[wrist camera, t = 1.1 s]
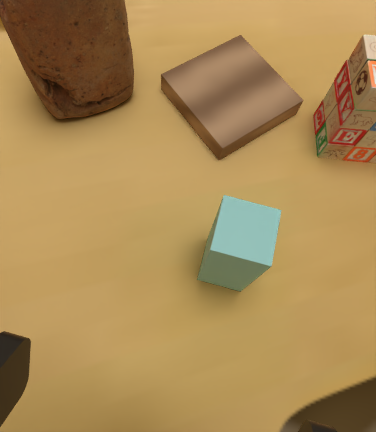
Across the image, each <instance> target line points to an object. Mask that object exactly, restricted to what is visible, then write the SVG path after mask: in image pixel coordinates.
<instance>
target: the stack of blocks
mask: <svg viewBox="0 0 376 432" xmlns="http://www.w3.org/2000/svg"><path fill="white" fill-rule="evenodd" d="M314 126H315V135H316V145H317V157H320V158H331V159H342V160H347V161H359V162H370V163H376V35H363V36H362V38H361V39H360V41H359V43H358V44H357V46H356V48H355V49H354V51H353V52H352V54H351V56H350V58H349V60H346V62H345V63H344V65H343V66H342V68H341V70H340V71H339V73H338V74H337V77H336V78H335V80H334V82H333V84H332V86H331V88H330V89H329V91H328V93H327V94H326V96H325V98H324V99H323V101H322V102H321V104H320V105H319V107H318V109H317V110H316V112H315V113H314Z"/></svg>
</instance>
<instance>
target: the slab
mask: <svg viewBox="0 0 376 432" xmlns="http://www.w3.org/2000/svg"><path fill="white" fill-rule="evenodd" d="M161 90H162V91H163V92H164V93H165V94H166V96H167V97H168V98H169V99H170V101H171V102H172V103H173V104H174V106H175V107H176V108H177V109H178V110H179V112H180V113H181V114H182V115H183V117H184V118H185V119H186V120H187V121H188V123H189V124H190V125H191V126H192V128H193V129H194V130H195V131H196V132H197V134H198V135H199V136H200V137H201V139H202V140H203V141H204V142H205V144H206V145H207V146H208V147H209V148H210V150H211V151H212V152H213V153H214V155H215V156H216V157H217V158H218V159H219V160H221V159H222V158H224V157H226V156H227V155H229V154H231V153H232V152H234V151H236V150H237V149H239V148H241V147H242V146H244V145H245V144H247V143H249V142H250V141H252V140H254V139H255V138H257V137H259V136H260V135H262V134H264V133H265V132H267V131H269V130H270V129H272V128H274V127H275V126H277V125H279V124H280V123H282V122H284V121H285V120H287V119H289V118H290V117H292V116H294V115H295V114H296V113H297V111H298V110H299V108H300V106H301V104H302V102H303V99H302V98H301V97H300V96H299V95H298V94H297V93H296V92H295V91H294V90H293V89H292V88H291V87H290V86H289V85H288V84H287V83H286V82H285V81H284V80H283V78H282V77H281V76H280V75H279V74H278V73H277V72H276V71H275V70H274V69H273V68H272V67H271V66H270V65H269V64H268V63H267V62H266V61H265V60H264V59H263V58H262V57H261V56H260V55H259V54H258V52H257V51H256V50H255V49H254V48H253V47H252V46H251V45H250V44H249V43H248V42H247V41H246V40H245V39H244V38H243V37H242V36H241V35H239V36H237V37H235V38H233V39H231V40H229V41H227V42H225V43H223V44H221V45H219V46H217V47H215V48H213V49H211V50H209V51H207V52H205V53H203V54H201V55H199V56H197V57H195V58H193V59H191V60H189V61H187V62H185V63H183V64H181V65H179V66H177V67H175V68H173V69H171V70H169V71H167V72H165V73H163V74H161Z"/></svg>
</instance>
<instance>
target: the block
mask: <svg viewBox="0 0 376 432" xmlns="http://www.w3.org/2000/svg"><path fill="white" fill-rule="evenodd" d="M0 17H1V20H2V23H3V25H4V27H5V29H6V31H7V33H8V36H9V38H10V40H11V42H12V44H13V47H14V49H15V51H16V53H17V55H18V57H19V60H20V62H21V64H22V66H23V68H24V70H25V72H26V74H27V76H28V78H29V80H30V82H31V84H32V85H33V87H34V89H35V91H36V93H37V94H38V96H39V98H40V99H41V101H42V102H43V104H44V105H45V107H46V108H47V109H48V110H49V112H50V113H51V114H52V115H53V116H54V117H56V118H58V119H63V118H69V117H70V118H72V117H85V116H89V115H92V114H96V113H99V112H102V111H106V110H109V109H111V108H113V107H116V106H117V105H119V104H121V103H122V102H124V101H126V100H127V99H128V98H129V97H130V96H131V94H132V93H133V87H134V86H133V83H134V69H133V56H132V48H131V42H130V37H129V34H128V22H127V12H126V7H125V1H124V0H0Z"/></svg>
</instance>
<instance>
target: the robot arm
mask: <svg viewBox="0 0 376 432" xmlns="http://www.w3.org/2000/svg"><path fill="white" fill-rule="evenodd" d="M30 346H31V341H30V339H29V338H26V337H22V336H19V335H15V334H12V333H9V332H5V331H4V332H1V333H0V427H1V425H2V424H3V422H4V421H5V419H6V418H7V416H8V415H9V414H10V412H11V411H12V409H13V408H14V406H15V405H16V403H17V402H18V400H19V399H20V397H21V396H22V394H23V392H24V390H25V387H26V384H27V381H28V377H29V363H30ZM298 432H337V431H336V430H335V428H334V427H331V426H327V425H324V424H320V423H317V422H313V421H310V420H305V421H304V422H303V423H302V425H301V427H300V429H299V431H298Z"/></svg>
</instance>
